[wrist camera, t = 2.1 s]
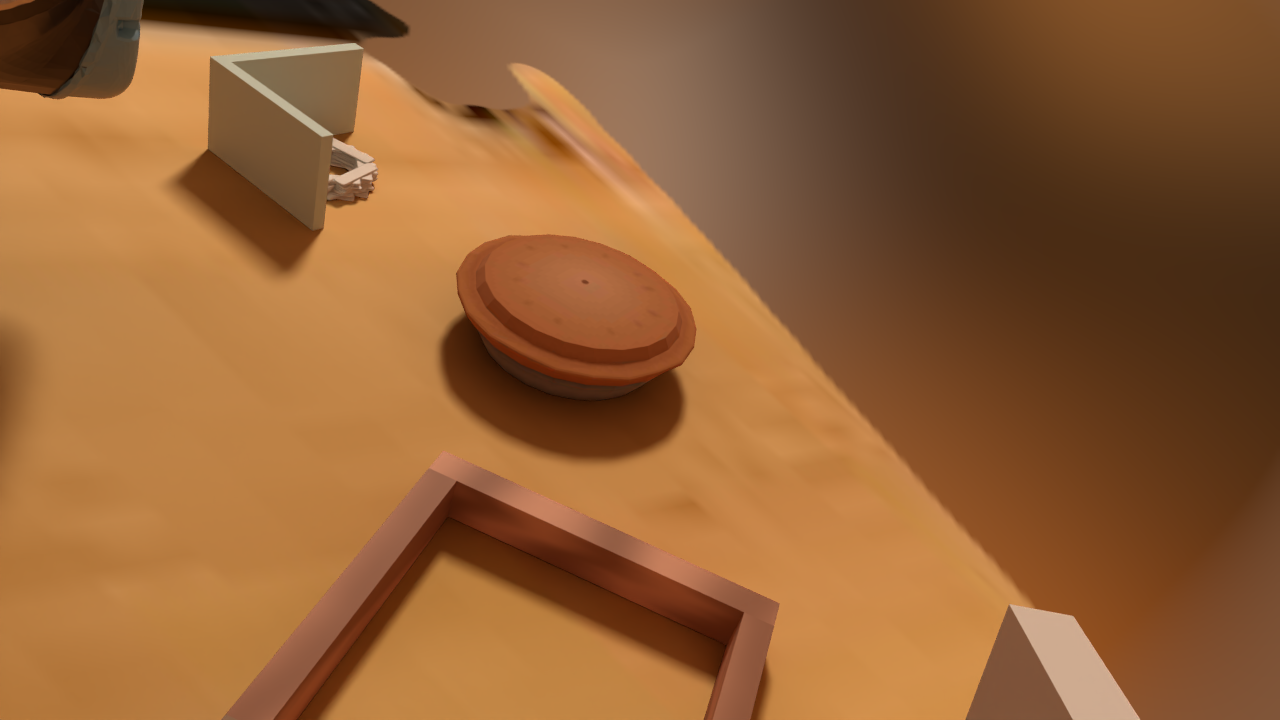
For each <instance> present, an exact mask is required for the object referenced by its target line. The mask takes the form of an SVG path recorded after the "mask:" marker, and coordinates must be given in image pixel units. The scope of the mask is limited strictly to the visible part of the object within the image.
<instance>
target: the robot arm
mask: <svg viewBox="0 0 1280 720" xmlns="http://www.w3.org/2000/svg"><path fill="white" fill-rule="evenodd" d="M143 1H144V0H0V88H1V89H9V90H17V91H25V92H33V93H38V94H40V95H41V96H43V97H44V98H45V97H49V98H52V99H64V98H65V97H68V96H70V97H84V98H97V99H105V98H112V97H115V96H117V95H119V94H121V93H122V92H124V91H125V90H126V89H127V88H128V86H129V85H130V83H131V81H132V79H133V76H134V72H135V68H136V62H137V56H138V48H139V39H140V23H139V21H140V19H141V14H142V7H143ZM966 720H1140V719H1139V717H1138V716H1137V714H1136V712H1135V711H1134V709H1133V708H1132V707H1131V705H1130V703H1129V702H1128V700H1127V698H1126V697H1125V695H1124V694H1123V692H1122V691H1121V689H1120V688H1119V686H1118V685H1117V683H1116V682H1115V680H1114V678H1113V677H1112V675H1111V674H1110V673H1109V671H1108V669H1107V668H1106V666H1105V664H1104V663H1103V661H1102V660H1101V658H1100V657H1099V655H1098V654H1097V652H1096V651H1095V649H1094V647H1093V646H1092V644H1091V643H1090V641H1089V640H1088V638H1087V637H1086V635H1085V634H1084V632H1083V630H1082V629H1081V628H1080V626H1079V625H1078V623H1077V621H1076V620H1075V618H1074V617H1073V616H1069V615H1064V614H1059V613H1054V612H1048V611H1043V610H1038V609H1032V608H1027V607H1022V606H1016V605H1011V604H1009V606H1008V609H1007V611H1006V614H1005V617H1004V619H1003V622H1002V625H1001V627H1000V630H999V632H998V635H997V638H996V640H995V643H994V646H993V648H992V651H991V654H990V656H989V659H988V662H987V664H986V667H985V669H984V672H983V675H982V677H981V680H980V683H979V685H978V688H977V691H976V693H975V696H974V699H973V701H972V704H971V707H970V709H969V712H968V714H967V717H966Z"/></svg>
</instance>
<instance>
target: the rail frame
mask: <svg viewBox="0 0 1280 720" xmlns="http://www.w3.org/2000/svg"><path fill="white" fill-rule="evenodd" d="M447 517H450V518H453V519H455V520H457V521H459V522H461V523H463V524H465V525H468V526H470V527H472V528H474V529H476V530H478V531H481V532H483V533H485V534H487V535H489V536H491V537H494V538H496V539H498V540H500V541H502V542H504V543H507V544H509V545H511V546H513V547H515V548H517V549H520V550H522V551H524V552H526V553H528V554H530V555H533V556H535V557H537V558H539V559H541V560H543V561H546V562H548V563H550V564H552V565H554V566H556V567H559V568H561V569H563V570H565V571H567V572H569V573H572V574H574V575H576V576H578V577H580V578H582V579H585V580H587V581H589V582H591V583H593V584H595V585H598V586H600V587H602V588H604V589H606V590H608V591H611V592H613V593H615V594H617V595H619V596H621V597H624V598H626V599H628V600H630V601H632V602H634V603H637V604H639V605H641V606H643V607H645V608H647V609H650V610H652V611H654V612H656V613H658V614H660V615H663V616H665V617H667V618H669V619H671V620H673V621H676V622H678V623H680V624H682V625H684V626H686V627H689V628H691V629H693V630H695V631H697V632H699V633H702V634H704V635H706V636H708V637H710V638H712V639H715V640H717V641H719V642H721V643H723V644H725V645H726V648H725V652H724V655H723V658H722V661H721V665H720V668H719V671H718V675H717V678H716V681H715V684H714V688H713V691H712V694H711V698H710V701H709V704H708V708H707V711H706V714H705V717H704V720H750V719H751V715H752V711H753V707H754V703H755V699H756V695H757V691H758V687H759V683H760V679H761V675H762V671H763V667H764V663H765V660H766V656H767V652H768V648H769V644H770V640H771V636H772V632H773V628H774V624H775V620H776V616H777V612H778V608H779V604H780V603H777V602H775V601H773V600H771V599H769V598H766V597H764V596H762V595H760V594H758V593H755V592H753V591H751V590H749V589H747V588H744V587H742V586H740V585H738V584H736V583H733V582H731V581H729V580H727V579H725V578H722V577H720V576H718V575H716V574H714V573H711V572H709V571H707V570H705V569H703V568H700V567H698V566H696V565H694V564H692V563H689V562H687V561H685V560H683V559H681V558H678V557H676V556H674V555H672V554H670V553H667V552H665V551H663V550H661V549H659V548H656V547H654V546H652V545H650V544H648V543H645V542H643V541H641V540H639V539H637V538H634V537H632V536H630V535H628V534H626V533H623V532H621V531H619V530H617V529H615V528H612V527H610V526H608V525H606V524H604V523H602V522H599V521H597V520H595V519H593V518H591V517H588V516H586V515H584V514H582V513H580V512H577V511H575V510H573V509H571V508H569V507H566V506H564V505H562V504H560V503H558V502H555V501H553V500H551V499H549V498H547V497H544V496H542V495H540V494H538V493H536V492H533V491H531V490H529V489H527V488H525V487H522V486H520V485H518V484H516V483H514V482H511V481H509V480H507V479H505V478H503V477H500V476H498V475H496V474H494V473H492V472H489V471H487V470H485V469H483V468H481V467H478V466H476V465H474V464H472V463H470V462H467V461H465V460H463V459H461V458H459V457H456V456H454V455H452V454H450V453H448V452H445V451H443V452H442V453H441V454H440V455H439V457H438V458H437V459H436V460H435V461H434V463H433V464H432V465H431V466H430V467H429V469H428V470H427V471H426V472H425V474H424V475H423V476H422V477H421V478H420V480H419V481H418V482H417V483H416V484H415V486H414V487H413V488H412V489H411V490H410V492H409V493H408V494H407V495H406V497H405V498H404V499H403V500H402V501H401V503H400V504H399V505H398V506H397V507H396V509H395V510H394V511H393V512H392V514H391V515H390V516H389V517H388V518H387V520H386V521H385V522H384V523H383V524H382V526H381V527H380V528H379V529H378V530H377V532H376V533H375V534H374V535H373V537H372V538H371V539H370V540H369V541H368V543H367V544H366V545H365V546H364V547H363V549H362V550H361V551H360V552H359V554H358V555H357V556H356V557H355V558H354V560H353V561H352V562H351V563H350V564H349V566H348V567H347V568H346V569H345V570H344V572H343V573H342V574H341V575H340V577H339V578H338V579H337V580H336V581H335V583H334V584H333V585H332V586H331V587H330V589H329V590H328V591H327V592H326V594H325V595H324V596H323V597H322V598H321V600H320V601H319V602H318V603H317V604H316V606H315V607H314V608H313V609H312V610H311V612H310V613H309V614H308V615H307V617H306V618H305V619H304V620H303V621H302V623H301V624H300V625H299V626H298V627H297V629H296V630H295V631H294V632H293V634H292V635H291V636H290V637H289V638H288V640H287V641H286V642H285V643H284V644H283V646H282V647H281V648H280V649H279V650H278V652H277V653H276V654H275V655H274V657H273V658H272V659H271V660H270V661H269V663H268V664H267V665H266V666H265V667H264V669H263V670H262V671H261V672H260V674H259V675H258V676H257V677H256V678H255V680H254V681H253V682H252V683H251V684H250V686H249V687H248V688H247V689H246V690H245V692H244V693H243V694H242V695H241V697H240V698H239V699H238V700H237V701H236V703H235V704H234V705H233V706H232V707H231V709H230V710H229V711H228V712H227V714H226V715H225V716H224V717H223V718H222V720H297V719H298V718H299V716H300V715H301V714H302V712H303V711H304V710H305V708H306V707H307V706H308V704H309V703H310V701H311V700H312V699H313V697H314V696H315V695H316V693H317V692H318V691H319V689H320V688H321V687H322V685H323V684H324V683H325V681H326V680H327V679H328V677H329V676H330V675H331V673H332V672H333V671H334V669H335V668H336V666H337V665H338V664H339V662H340V661H341V660H342V658H343V657H344V656H345V654H346V653H347V652H348V650H349V649H350V648H351V646H352V645H353V644H354V642H355V641H356V640H357V638H358V637H359V636H360V634H361V633H362V632H363V630H364V629H365V627H366V626H367V625H368V623H369V622H370V621H371V619H372V618H373V617H374V615H375V614H376V613H377V611H378V610H379V609H380V607H381V606H382V605H383V603H384V602H385V601H386V599H387V598H388V597H389V595H390V594H391V593H392V591H393V590H394V588H395V587H396V586H397V584H398V583H399V582H400V580H401V579H402V578H403V576H404V575H405V574H406V572H407V571H408V570H409V568H410V567H411V566H412V564H413V563H414V562H415V560H416V559H417V558H418V556H419V555H420V553H421V552H422V551H423V549H424V548H425V547H426V545H427V544H428V543H429V541H430V540H431V539H432V537H433V536H434V535H435V533H436V532H437V531H438V529H439V528H440V527H441V525H442V524H443V523H444V521H445V520H446V519H447Z"/></svg>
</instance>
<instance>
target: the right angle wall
mask: <svg viewBox="0 0 1280 720" xmlns="http://www.w3.org/2000/svg"><path fill="white" fill-rule="evenodd" d="M363 50H364V49H363V48H362V47H360V46H358V45H357V44H355V43H351V44H340V45H329V46H319V47H308V48H297V49H286V50H276V51H265V52H254V53H243V54H233V55H222V56H211V57H210V84H209V124H208V149H209V150H210V151H211V152H213V153H214V154H215V155H216V156H218V157H219V158H220V159H222V160H223V161H224V162H225V163H227V164H228V165H229V166H230V167H232V168H233V169H234V170H236V171H237V172H238V173H239V174H241V175H242V176H243V177H244V178H246V179H247V180H248V181H250V182H251V183H252V184H253V185H255V186H256V187H257V188H259V189H260V190H261V191H262V192H264V193H265V194H266V195H267V196H269V197H270V198H271V199H273V200H274V201H275V202H276V203H278V204H279V205H280V206H281V207H283V208H284V209H285V210H287V211H288V212H289V213H290V214H292V215H293V216H294V217H296V218H297V219H298V220H299V221H301V222H302V223H303V224H304V225H306V226H307V227H308V228H310V229H311V230H312V231H314V230H318V229H322V228H324V219H325V210H326V200H333V199H341V200H347V201H354V198H355V196H357V197H362V198H368V194H369V191H372V190H374V187H373V186H372V185H371V184H372V183H371V182H373V181H375V180H377V178H376V177H377V175H378V172H377V170H378V168H377V167H376V164H374V163H372V162H373V161H375V160H374V158H372V157H370V156H368V154H366V153H362V152H360V151H358V150H356V149H355V147H354V146H351V145H347V144H345V143H343V142H341V141H339V140H337V139H335V138H333V135H337V134H343V133H348V132H354V125H355V117H356V108H357V100H358V92H359V83H360V75H361V66H362V58H363ZM330 165H331V166H336V167H342V168H346V169H347V170H349V172H347V173H345V174H343V175H329V172H330ZM354 195H355V196H354Z"/></svg>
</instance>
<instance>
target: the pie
mask: <svg viewBox="0 0 1280 720" xmlns="http://www.w3.org/2000/svg"><path fill="white" fill-rule="evenodd" d="M456 275H457V290H458V296H459V298H460V301H461V303H462V306H463V308H464V311H465V313H466V316H467V317H468V318H469V320H470V321H471V322H472V324H473V325H474V326H475V328H476V329H477V330H478V332H479V334H480V336H481V339H482V341H483V343H484V345H485V347H486V349H487V351H488V353H489V355H490V356H491V357H492V358H493V359H494V360H495V361H496V362H497V363H498V364H499V365H500V366H501V367H502V368H503V369H504V370H505V371H506V372H507V373H509V374H511V375H512V376H514V377H515V378H517V379H518V380H520V381H521V382H523V383H524V384H526V385H529V386H531V387H533V388H536V389H538V390H541V391H543V392H546V393H548V394H551V395H556V396H560V397H565V398H570V399H574V400H605V399H610V398H615V397H620V396H623V395H625V394H627V393H629V392H631V391H633V390H635V389H637V388H639V387H640V386H642V385H644V384H645V383H647V382H649V381H650V380H652V379H653V378H655V377H657V376H659V375H660V374H662V373H664V372H666V371H668V370H671V369H673V368H676V367H678V366H681V365H682V364H683V362H684V361H685V359H686V358H687V357H688V355H689V354H690V352H691V351H692V349H693V348H694V343H695V336H696V326H695V322H694V318H693V315H692V311H691V308H690V307H689V305H688V304H687V303H686V301H685V300H684V299H683V298H682V296H681V295H680V294H679V293H678V291H677V290H676V289H675V288H674V287H673V286H671V285H670V284H669V283H668V282H667V281H665V280H664V279H663V278H662V277H661V276H659V275H658V274H657V273H656V272H654V271H653V270H651V269H650V268H648V267H647V266H645V265H644V264H642V263H641V262H639V261H637V260H636V259H634V258H633V257H631V256H630V255H627V254H625V253H623V252H620V251H618V250H615V249H613V248H610V247H608V246H605V245H603V244H600V243H596V242H592V241H588V240H584V239H580V238H576V237H569V236H559V235H534V236H512V235H509V236H506V237H502V238H499V239H495V240H492V241H489V242H485V243H483V244H482V245H480V246H479V247H478V248H476V249H475V250H473V251H472V252H470V253H469V254H468V255H467V256H466V258H465V260H464V261H463V263H462V265H461V266H460V268H459V270H458V271H457V273H456Z"/></svg>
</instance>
